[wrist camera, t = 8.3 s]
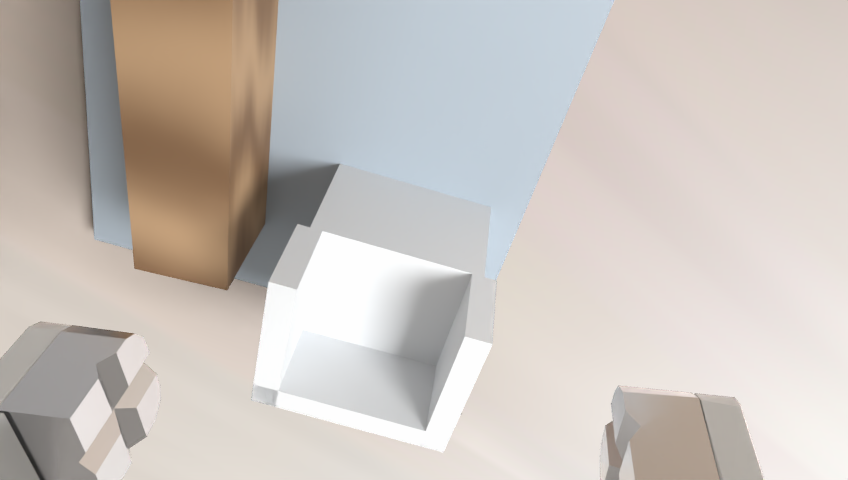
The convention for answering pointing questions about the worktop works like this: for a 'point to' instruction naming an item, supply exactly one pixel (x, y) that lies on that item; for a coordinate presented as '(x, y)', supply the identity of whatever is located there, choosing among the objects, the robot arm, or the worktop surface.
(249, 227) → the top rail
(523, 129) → the grey base with supports
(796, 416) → the worktop surface
